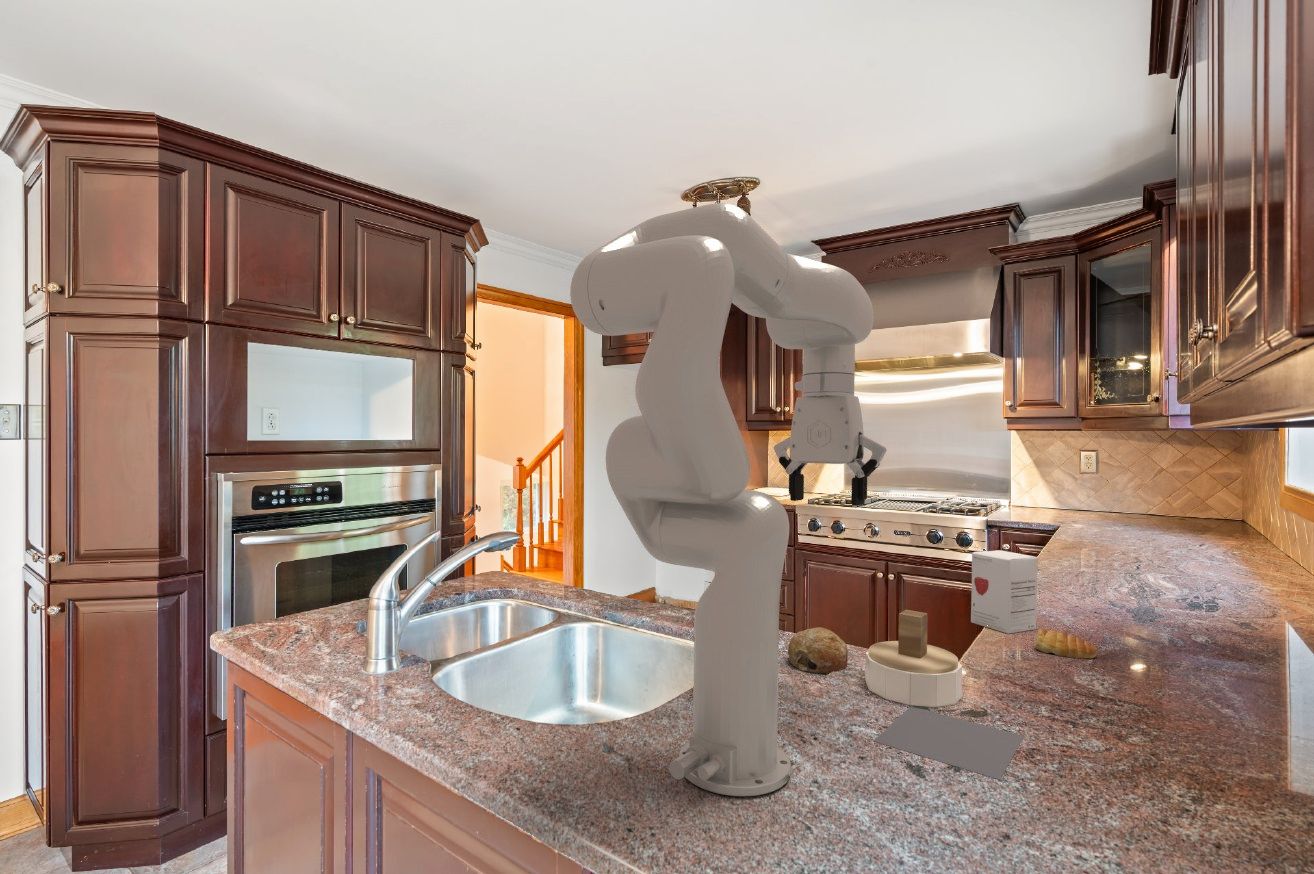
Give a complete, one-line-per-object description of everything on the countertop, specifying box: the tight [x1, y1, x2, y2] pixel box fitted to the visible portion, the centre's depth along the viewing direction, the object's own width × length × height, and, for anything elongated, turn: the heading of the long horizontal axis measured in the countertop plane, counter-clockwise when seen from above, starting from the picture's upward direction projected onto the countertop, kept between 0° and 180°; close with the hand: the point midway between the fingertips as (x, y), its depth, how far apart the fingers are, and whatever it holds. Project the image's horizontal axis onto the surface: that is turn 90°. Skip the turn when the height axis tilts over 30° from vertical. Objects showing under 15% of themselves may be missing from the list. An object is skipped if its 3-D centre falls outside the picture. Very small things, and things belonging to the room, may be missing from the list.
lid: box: [868, 609, 959, 674], centre depth 98 cm, size 12×12×7 cm
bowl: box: [865, 650, 963, 708], centre depth 98 cm, size 13×13×5 cm
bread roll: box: [787, 626, 849, 675], centre depth 110 cm, size 10×10×8 cm
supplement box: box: [970, 549, 1039, 635], centre depth 135 cm, size 9×9×15 cm
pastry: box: [1034, 627, 1098, 660], centre depth 118 cm, size 9×7×4 cm
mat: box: [873, 705, 1025, 781], centre depth 81 cm, size 14×14×1 cm
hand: (826, 502), depth 97 cm, fingers open, 9 cm apart
